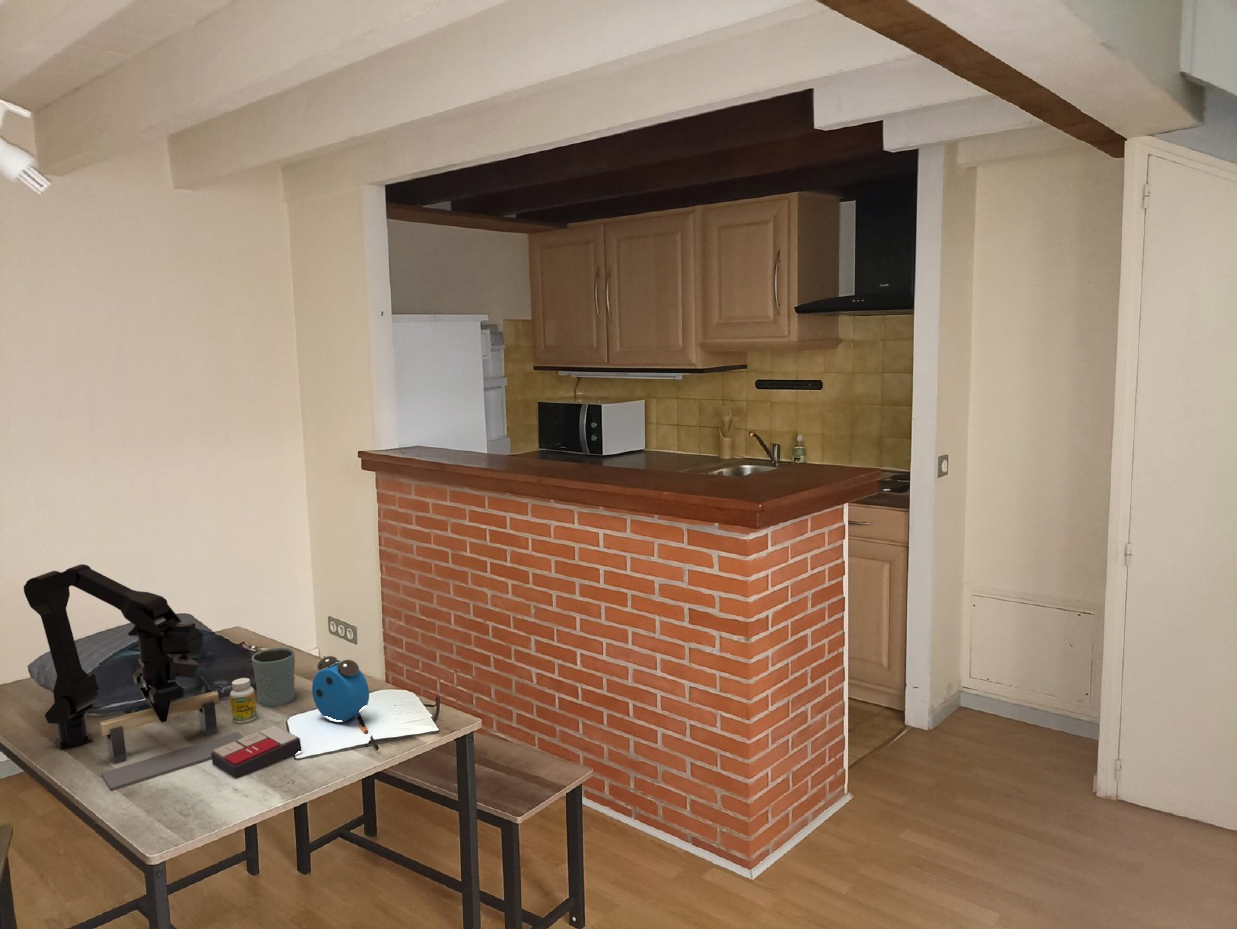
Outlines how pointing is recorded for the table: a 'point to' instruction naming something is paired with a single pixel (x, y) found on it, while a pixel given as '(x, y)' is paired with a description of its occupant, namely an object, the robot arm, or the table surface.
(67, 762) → the table surface
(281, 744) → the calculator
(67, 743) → the robot arm
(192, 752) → the rubber mat
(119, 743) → the bracket
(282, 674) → the green plant pot
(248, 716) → the supplement bottle
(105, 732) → the beech rail
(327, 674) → the alarm clock
